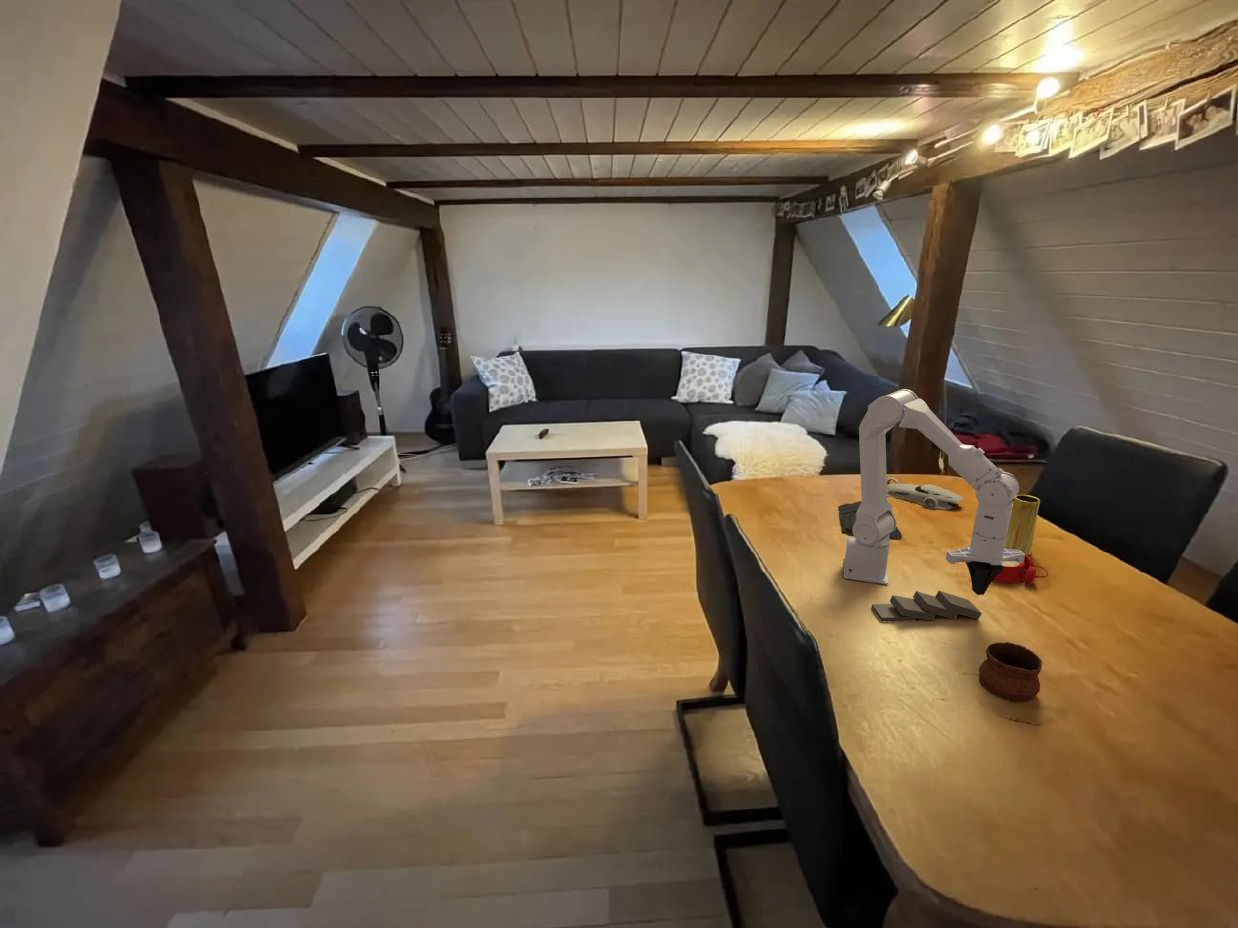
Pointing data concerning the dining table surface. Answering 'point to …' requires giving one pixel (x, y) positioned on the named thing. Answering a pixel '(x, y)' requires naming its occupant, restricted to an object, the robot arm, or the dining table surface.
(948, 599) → the domino
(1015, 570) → the alarm clock
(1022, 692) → the ceramic pot
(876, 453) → the robot arm
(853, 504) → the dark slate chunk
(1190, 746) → the dining table surface
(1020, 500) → the vase
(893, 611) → the loose domino
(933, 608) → the domino
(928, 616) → the domino
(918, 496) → the car model
